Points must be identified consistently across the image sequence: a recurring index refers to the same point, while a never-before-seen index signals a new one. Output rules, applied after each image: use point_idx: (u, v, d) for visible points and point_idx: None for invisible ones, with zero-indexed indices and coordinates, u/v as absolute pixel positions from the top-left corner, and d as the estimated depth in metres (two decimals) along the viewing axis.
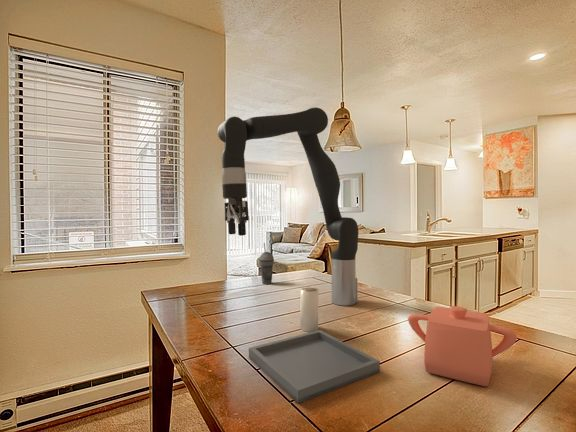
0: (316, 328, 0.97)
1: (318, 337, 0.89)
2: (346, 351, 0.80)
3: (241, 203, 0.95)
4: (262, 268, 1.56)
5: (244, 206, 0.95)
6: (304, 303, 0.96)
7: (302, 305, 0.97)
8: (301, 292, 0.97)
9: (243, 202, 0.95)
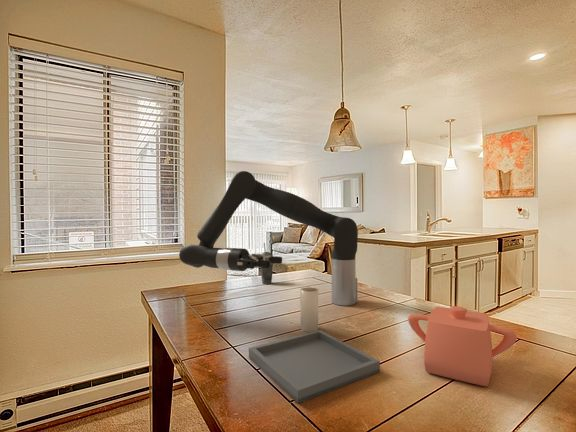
0: (316, 328, 0.97)
1: (318, 337, 0.89)
2: (346, 351, 0.80)
3: (238, 265, 1.00)
4: (262, 268, 1.56)
5: (241, 263, 1.00)
6: (304, 303, 0.96)
7: (302, 305, 0.97)
8: (301, 292, 0.97)
9: (238, 263, 1.00)
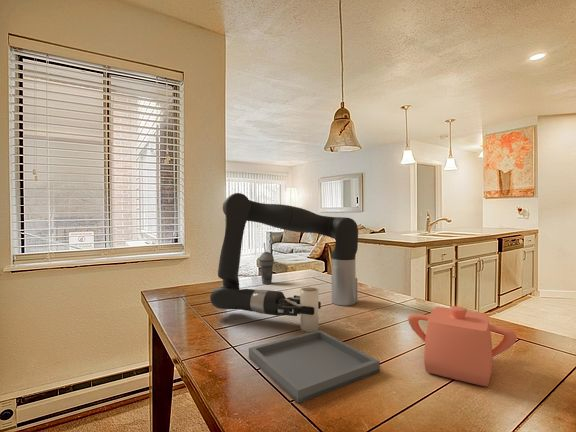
0: (316, 328, 0.97)
1: (318, 337, 0.89)
2: (346, 351, 0.80)
3: (279, 313, 0.95)
4: (262, 268, 1.56)
5: (283, 310, 0.95)
6: (304, 303, 0.96)
7: (302, 305, 0.97)
8: (301, 292, 0.97)
9: (279, 311, 0.95)
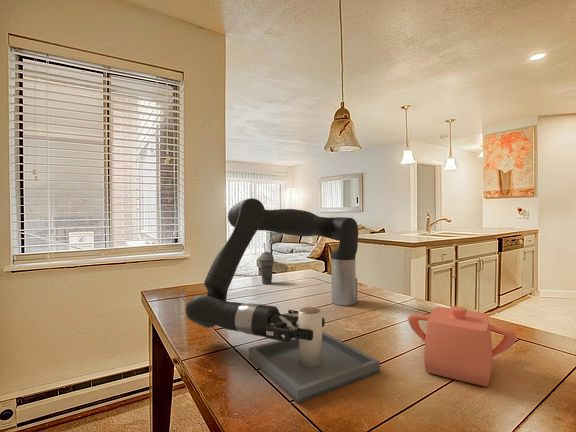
0: (319, 362, 0.74)
1: None
2: (346, 351, 0.80)
3: (268, 336, 0.72)
4: (262, 268, 1.56)
5: (272, 333, 0.72)
6: None
7: None
8: (300, 315, 0.74)
9: (267, 333, 0.72)
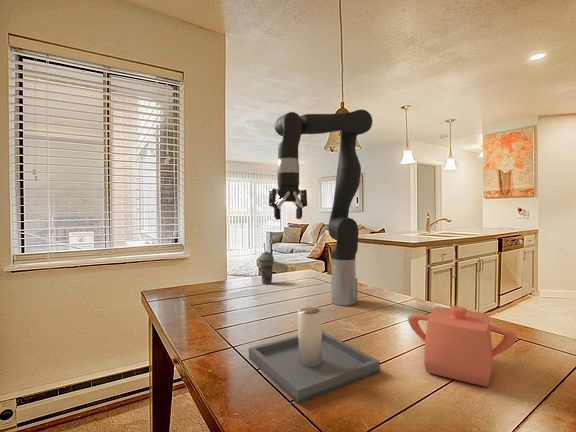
0: (320, 361, 0.74)
1: None
2: (346, 351, 0.80)
3: (270, 191, 1.09)
4: (262, 268, 1.56)
5: (271, 193, 1.08)
6: (304, 330, 0.73)
7: (301, 332, 0.74)
8: (299, 315, 0.74)
9: (271, 190, 1.08)
